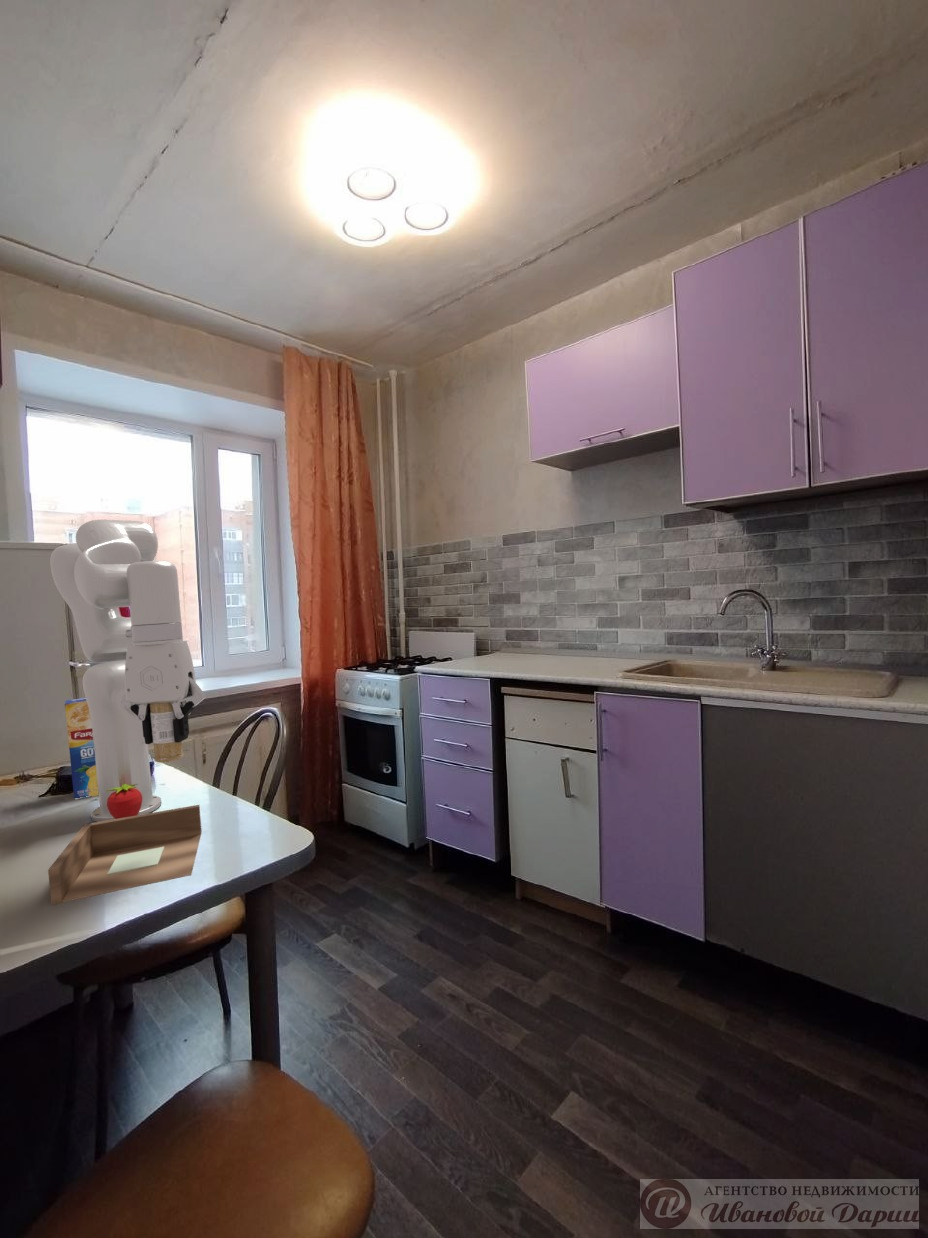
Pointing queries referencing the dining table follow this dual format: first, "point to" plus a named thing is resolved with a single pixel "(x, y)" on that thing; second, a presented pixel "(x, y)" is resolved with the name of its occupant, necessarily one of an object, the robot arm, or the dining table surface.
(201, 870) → the dining table surface
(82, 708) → the beverage box
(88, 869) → the tray
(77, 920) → the dining table surface
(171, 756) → the sprinkles bottle
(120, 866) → the sage pad
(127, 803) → the strawberry
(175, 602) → the robot arm
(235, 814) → the dining table surface
